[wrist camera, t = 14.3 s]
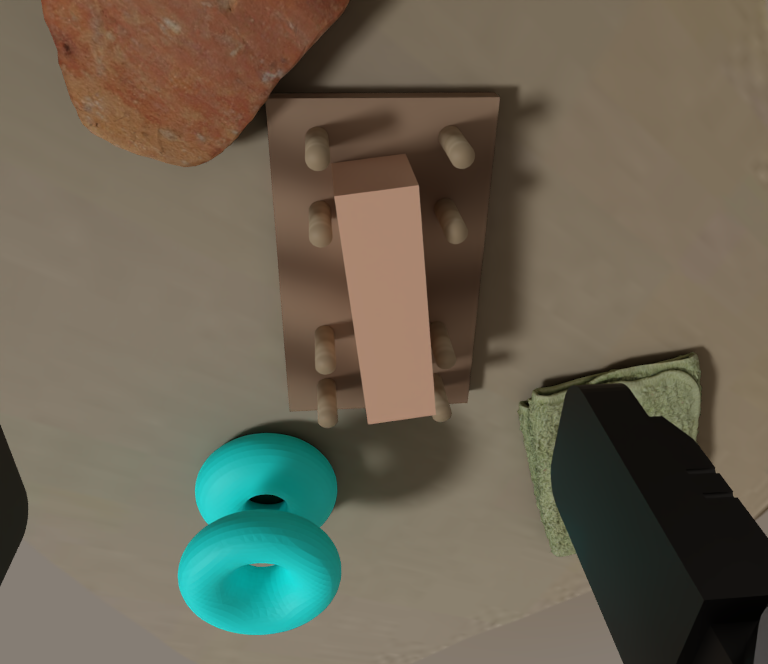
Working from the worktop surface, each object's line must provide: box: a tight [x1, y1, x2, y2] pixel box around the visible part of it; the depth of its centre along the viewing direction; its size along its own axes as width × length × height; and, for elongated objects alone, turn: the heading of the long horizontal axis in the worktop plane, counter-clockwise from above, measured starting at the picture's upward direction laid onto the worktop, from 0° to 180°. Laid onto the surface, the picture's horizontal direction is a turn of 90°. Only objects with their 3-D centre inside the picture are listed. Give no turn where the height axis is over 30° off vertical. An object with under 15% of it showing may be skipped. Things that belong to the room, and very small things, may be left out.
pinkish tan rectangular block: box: [331, 154, 436, 424], centre depth 36 cm, size 14×4×5 cm, turn 6°
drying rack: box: [266, 92, 500, 428], centre depth 37 cm, size 20×12×5 cm, turn 179°
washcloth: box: [517, 352, 702, 557], centre depth 49 cm, size 13×18×3 cm
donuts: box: [178, 433, 341, 635], centre depth 43 cm, size 10×10×10 cm
